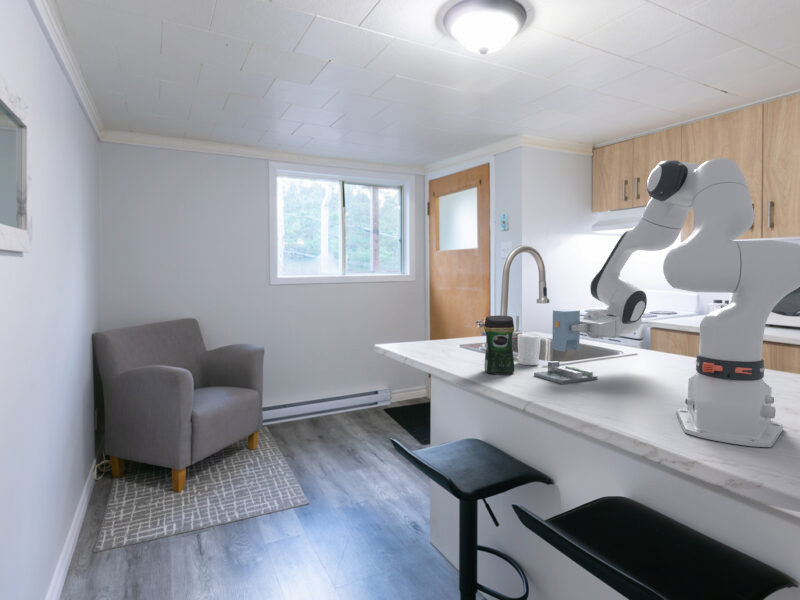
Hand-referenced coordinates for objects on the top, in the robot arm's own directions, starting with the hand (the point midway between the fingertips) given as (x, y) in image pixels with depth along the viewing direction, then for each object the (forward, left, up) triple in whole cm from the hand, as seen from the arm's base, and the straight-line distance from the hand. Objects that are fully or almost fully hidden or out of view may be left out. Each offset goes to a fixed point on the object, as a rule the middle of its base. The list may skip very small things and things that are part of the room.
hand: (563, 326), depth 142 cm
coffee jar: (-3, +20, -16) cm, 26 cm away
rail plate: (+1, 0, -16) cm, 16 cm away
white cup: (+16, +17, -16) cm, 28 cm away
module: (+1, 0, -7) cm, 7 cm away
